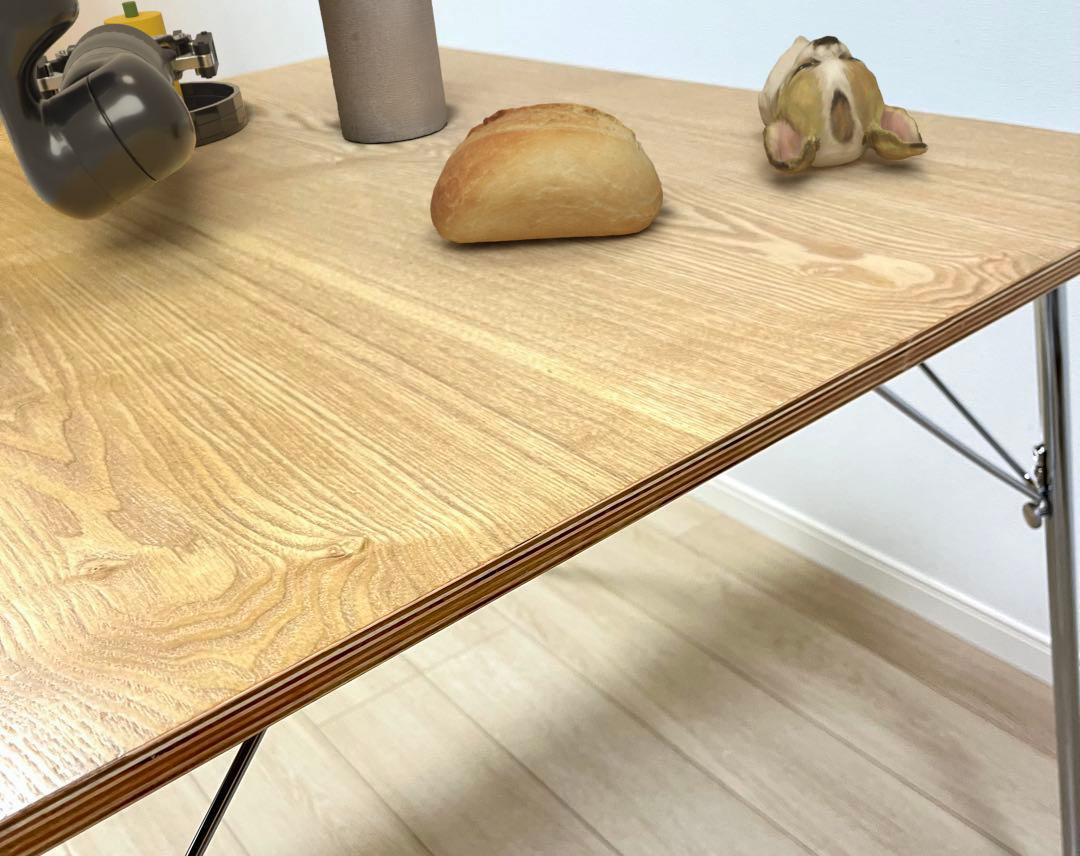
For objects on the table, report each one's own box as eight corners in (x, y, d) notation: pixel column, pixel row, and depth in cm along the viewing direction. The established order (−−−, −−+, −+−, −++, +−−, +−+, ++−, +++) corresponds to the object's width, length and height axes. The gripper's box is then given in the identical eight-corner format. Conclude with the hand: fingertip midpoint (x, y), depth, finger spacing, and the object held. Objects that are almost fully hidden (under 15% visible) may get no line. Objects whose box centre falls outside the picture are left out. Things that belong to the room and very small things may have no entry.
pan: (69, 168, 102) (58, 134, 101) (83, 128, 116) (74, 97, 114) (250, 139, 105) (242, 105, 103) (244, 103, 118) (237, 73, 117)
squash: (134, 139, 107) (97, 10, 101) (136, 127, 112) (101, 2, 106) (189, 130, 108) (156, 1, 102) (190, 118, 113) (158, -6, 106)
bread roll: (438, 224, 79) (420, 104, 75) (653, 200, 79) (648, 79, 75) (433, 273, 71) (413, 142, 67) (673, 247, 71) (668, 114, 67)
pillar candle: (321, 135, 104) (285, -49, 95) (407, 110, 109) (380, -67, 100) (384, 150, 97) (351, -46, 89) (472, 122, 102) (448, -66, 94)
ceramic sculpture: (872, 3, 84) (947, 55, 72) (863, 123, 89) (933, 190, 77) (728, 22, 84) (780, 77, 72) (728, 140, 89) (777, 211, 77)
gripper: (205, 18, 82) (202, -10, 96) (0, 47, 80) (26, 14, 93) (230, 125, 87) (224, 84, 100) (36, 155, 84) (56, 109, 98)
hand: (129, 50), depth 97 cm, fingers open, 8 cm apart
